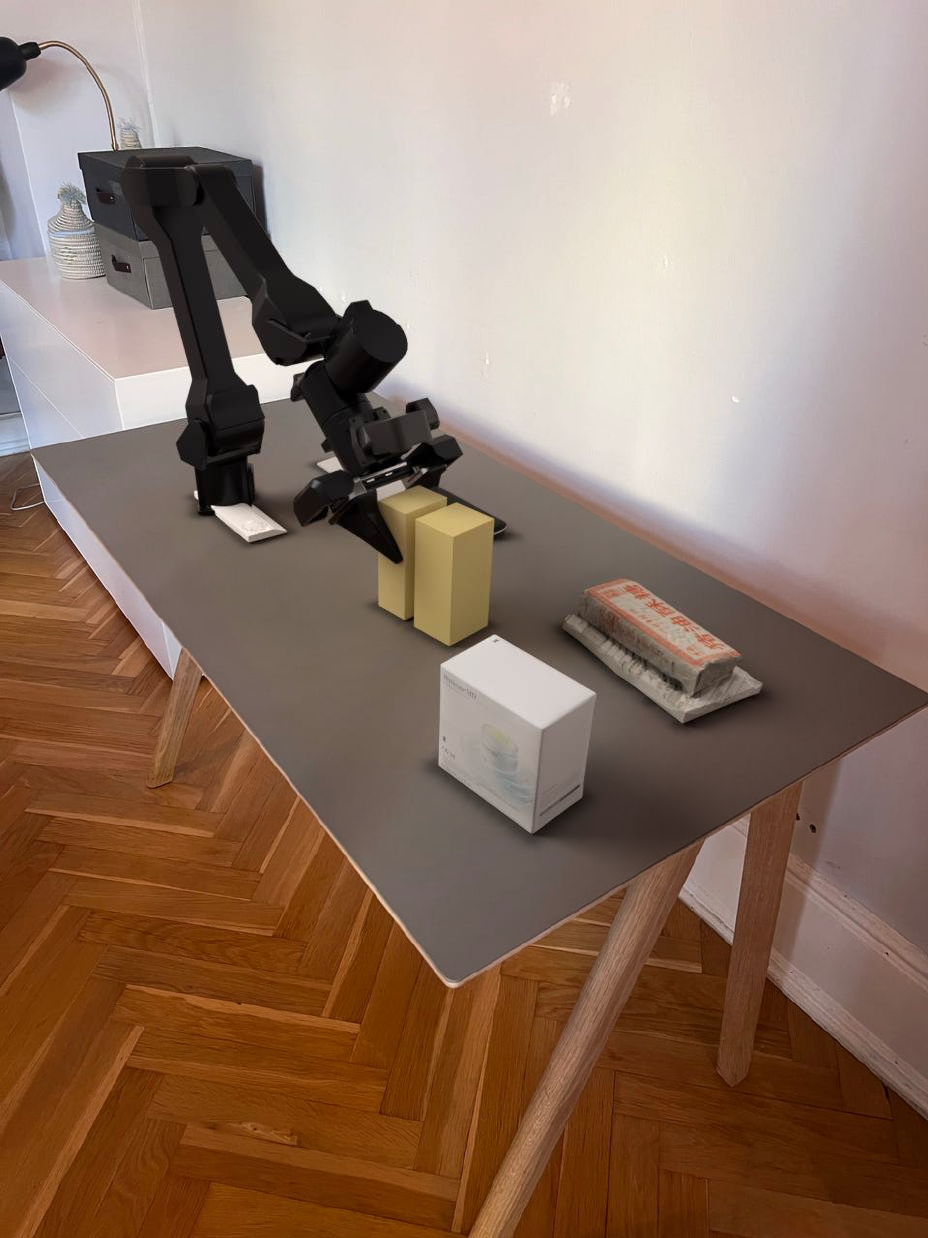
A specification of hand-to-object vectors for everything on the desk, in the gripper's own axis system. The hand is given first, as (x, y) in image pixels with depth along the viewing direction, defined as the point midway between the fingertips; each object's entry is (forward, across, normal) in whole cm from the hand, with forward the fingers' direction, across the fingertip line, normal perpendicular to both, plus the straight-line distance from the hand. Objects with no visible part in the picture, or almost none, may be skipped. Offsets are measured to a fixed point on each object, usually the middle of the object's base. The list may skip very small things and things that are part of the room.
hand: (421, 552), depth 91 cm
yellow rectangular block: (+4, 0, +6) cm, 7 cm away
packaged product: (+21, +10, -11) cm, 25 cm away
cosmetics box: (+22, -13, -12) cm, 28 cm away
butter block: (+8, 0, +2) cm, 8 cm away
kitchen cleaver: (-10, +19, +20) cm, 29 cm away
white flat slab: (-17, -1, +27) cm, 32 cm away
